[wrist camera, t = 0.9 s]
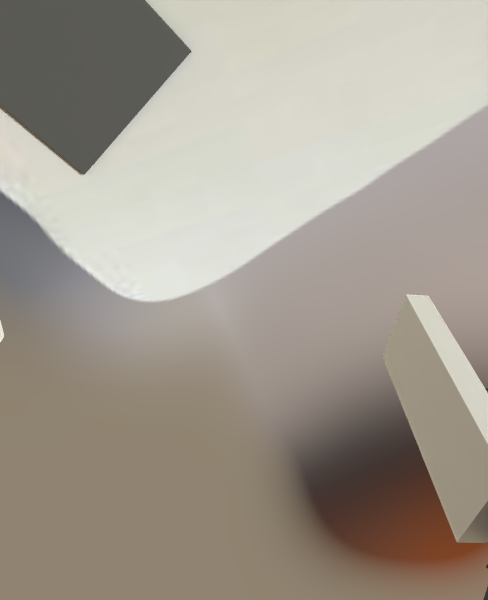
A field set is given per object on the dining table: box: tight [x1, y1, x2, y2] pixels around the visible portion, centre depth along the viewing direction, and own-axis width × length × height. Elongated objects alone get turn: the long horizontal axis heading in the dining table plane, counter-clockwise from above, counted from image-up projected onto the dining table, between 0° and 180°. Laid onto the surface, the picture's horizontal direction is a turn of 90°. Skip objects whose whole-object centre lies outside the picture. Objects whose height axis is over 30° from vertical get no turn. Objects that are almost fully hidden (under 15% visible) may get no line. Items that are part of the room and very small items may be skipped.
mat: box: [0, 0, 191, 174], centre depth 33 cm, size 16×13×1 cm
